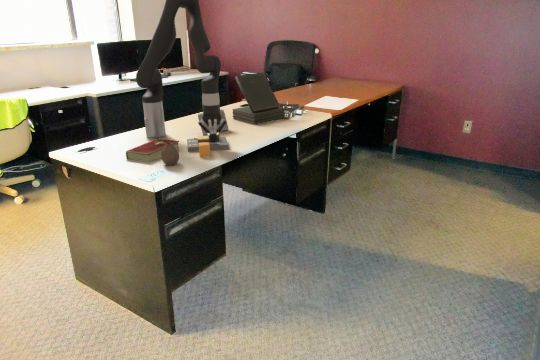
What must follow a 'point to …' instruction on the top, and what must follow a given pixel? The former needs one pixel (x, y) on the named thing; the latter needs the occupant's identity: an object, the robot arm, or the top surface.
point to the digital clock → (217, 125)
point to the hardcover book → (149, 150)
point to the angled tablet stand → (257, 100)
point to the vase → (170, 154)
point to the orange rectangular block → (204, 149)
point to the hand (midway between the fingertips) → (213, 141)
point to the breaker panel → (215, 145)
